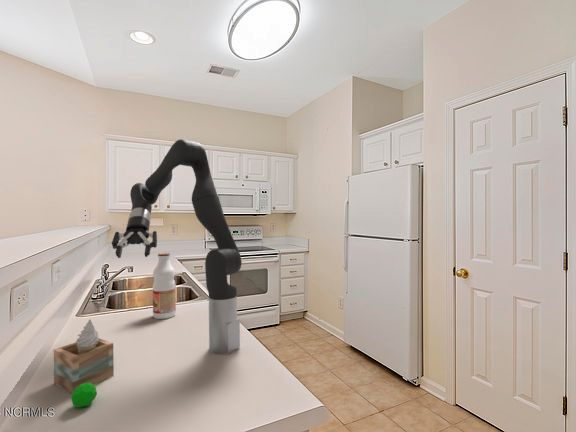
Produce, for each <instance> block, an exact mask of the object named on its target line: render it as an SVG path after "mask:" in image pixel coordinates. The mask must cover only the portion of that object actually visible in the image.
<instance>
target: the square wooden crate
mask: <svg viewBox="0 0 576 432" xmlns="http://www.w3.org/2000/svg"><path fill="white" fill-rule="evenodd" d="M114 375H115V374H114V343H113V342H112V341H108V340H105V339H102V338H101V337H100V338H99V337H98V343H97V344H96V346H95V348H94V349H91V350H88V351H85V352H83V353H80V354H79V352H78V348H77V345H76V341H75V342H73V343H70V344H67V345H64V346H61V347H58V348H55V349H53V385H56V386H57V387H59V388H62V389H63V390H65V391H66V392H68V393H71V394H72V393H73V391H74V390H75V389H76V388H77V387H78V386H80V385H81V384H83V383H92V384H94V385H97V384H98V383H101V382H102V381H105V380H107V379H109V378H111V377H114Z"/></svg>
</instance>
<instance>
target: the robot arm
mask: <svg viewBox="0 0 576 432" xmlns="http://www.w3.org/2000/svg"><path fill="white" fill-rule="evenodd" d="M179 166H184V167H190V168H192V170H193V174H194V176H195V177H194V178H195V184H194V188H193V191H192V194H191V203H192V207H193V210H194V213H195V216H196V218H197V220H198V221H199V223H200V224H201V225H202V227H204V228H205V230H206V231H207V232H209V234H210V235H211V236H212V238H213V239H214V241H215V244H216V246H217V248H214V249H211V250H210V251H208V252H207V254H206V257H205V260H204V261H205V262H204V268H205V269H204V270H205V284H206V290H207V293H208V336H209V337H208V344H209V345H208V348H209V350H208V351H210V352H211V353H213V354H217V355H218V354H220V355H221V354H223V355H224V354H226V355H229V354H230V353H232V352H234V351H236V350H237V349H240V347H241V336H240V335H241V331H240V329H241V326H240V325H241V323H240V320H241V319H240V318H238V290H237V287H236V286H235V285H233V284H229V282H228V276H229V275H233V274H237V273H238V272H239V271H240V270H241V268H242V256H241V253H240V250H239V248H238V246H237V244H236V241H235V240H234V238H233V236H232V233H231V231H230V230H231V229H230V227H229V225H228V222H227V220H226V217H225V214H224V211H223V208H222V204H221V201H220V198H219V195H218V192H217V191H216V186H215V184H214V180H213V176H212V173H211V170H210V169H211V168H210V165H209V159H208V155H207V152H206V149H205V147H204V146H203V145H202V144H201V143H199V142H197V141H193V140H190V139H189V140H188V139H184V138H183V139H182V138H181V139H178V140H175V142H174V143H172V145H171V147H170V149H169V150H168V152H167V153H166V155H165V156H164V158H163V160H162V161H161V163H160V164H159V166H158V167H157V168H156V170H154V172H153V173H152V174H151V175H149V177H148V178H147V179H146V180H145V183H142V182H137V183H134V184H133V185H132V186H131V189H130V196H129V197H130V202H131V210H130V214H129V216H128V220H127V224H126V229H125V232H123V233H120V232H119V231H115V233H114V236H113V238H112V241H111V246H112V249H113V250H115V255H116V257H117V259H121V258H122V253H123V249H124V248H126V247H128V246H130V245H141V244H142V245H143V246H144V256H145V258H148V257H149V256H150V254H151V250H152V248H153V249H154V248H155V249H156V248H157V247H158V234H157V233H158V232H157V231H156V230H153V232H149V231H150V226H151V218H152V217H151V215H152V210H153V209H152V205H155V204H156V202H158V201H157V200H158V199H159V196H160V194H161V192H162V191H163V190H164V189H166V187H168V185H169V184H170V183H171V182H172V180H173V170H174V169H175V168H177V167H179ZM149 238H150V239H152V241H149V240H148V239H149Z"/></svg>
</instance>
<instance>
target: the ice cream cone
mask: <svg viewBox="0 0 576 432" xmlns="http://www.w3.org/2000/svg"><path fill="white" fill-rule="evenodd" d="M82 329H83V330H81V331H80V333H79V334H77V336H78V338H77V339H76V341H75V342H76V345H77V348H78V352H79V354H80V353H83V352H85V351H88V350H91V349H94V348H95V346H96V344H97V343H98V338H99V332H98V331H97V330H96V328H95V325H93V322H92V320H91V319H89V320H88V322H87V323H86V325H84V326H83V328H82Z"/></svg>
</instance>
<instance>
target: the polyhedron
mask: <svg viewBox="0 0 576 432" xmlns="http://www.w3.org/2000/svg"><path fill="white" fill-rule="evenodd" d="M95 385H96V384H95ZM95 385H94V384H92V383H83V384H81V385H80V386H78V387H77V388H76V389H75V390H74V391H73V393H71V395H70V396H71V402H72V405H73V406H74V407H75V408H84V407H85V408H86V407H88V406H89V405H90V404H92V403H93V401H94V400H96V397H97V394H98V393H97V388H96V386H95Z"/></svg>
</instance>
